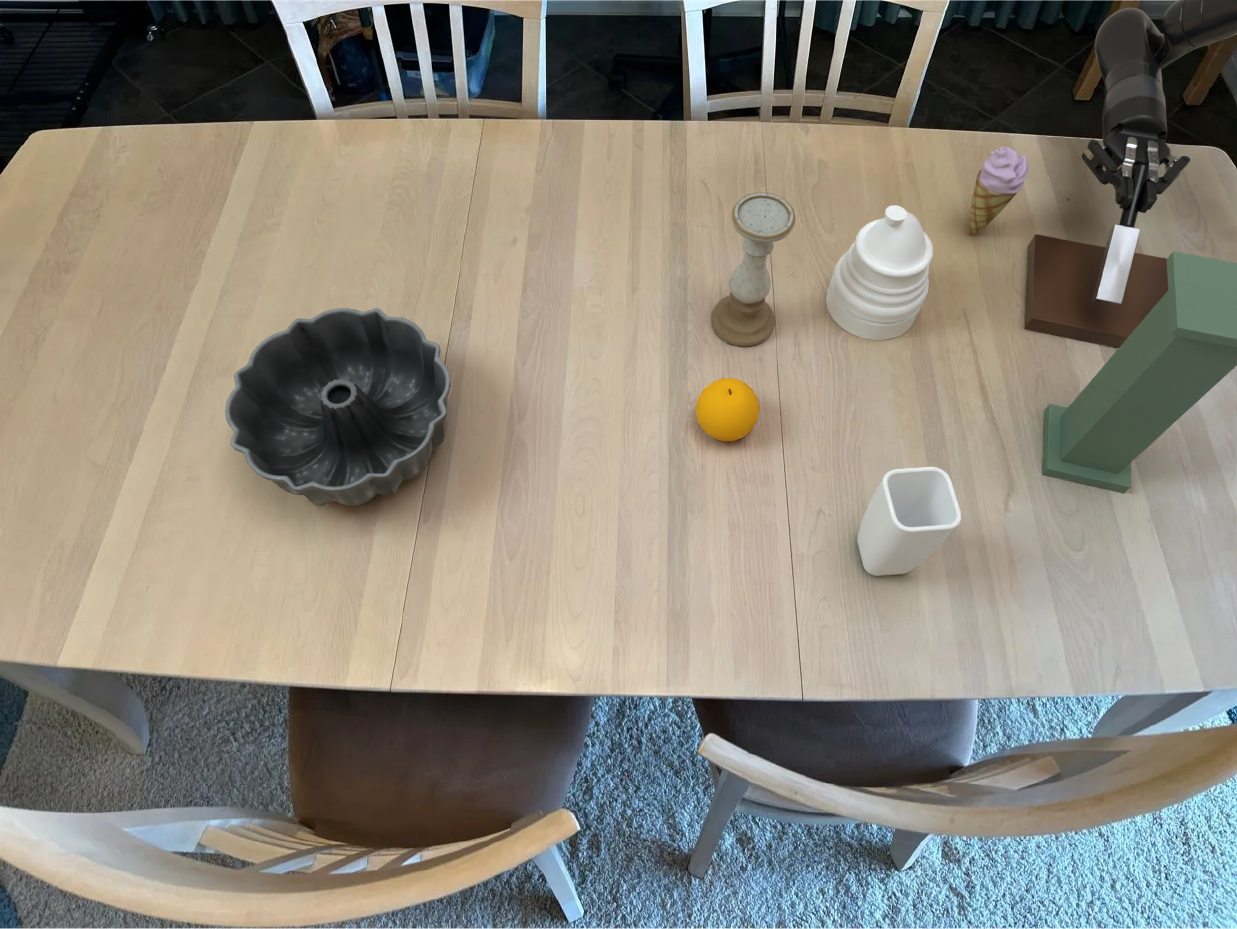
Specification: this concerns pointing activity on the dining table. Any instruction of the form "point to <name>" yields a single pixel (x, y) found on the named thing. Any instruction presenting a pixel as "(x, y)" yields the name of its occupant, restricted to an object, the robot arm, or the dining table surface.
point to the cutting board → (1086, 292)
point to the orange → (727, 409)
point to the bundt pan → (340, 405)
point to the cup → (907, 520)
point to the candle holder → (752, 270)
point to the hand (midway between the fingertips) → (1136, 205)
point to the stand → (1148, 377)
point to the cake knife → (1121, 247)
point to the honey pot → (882, 277)
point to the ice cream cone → (996, 186)
